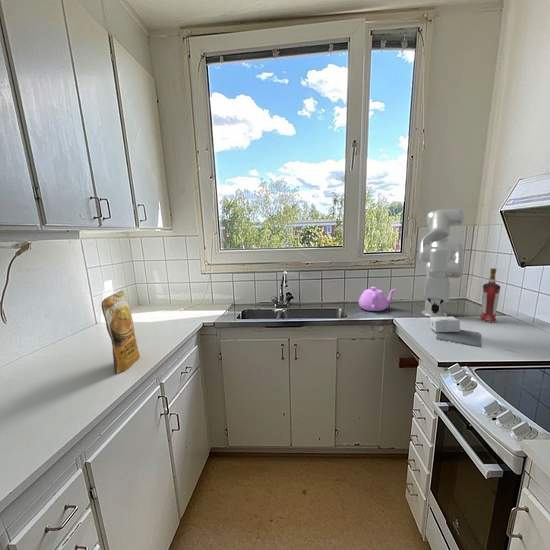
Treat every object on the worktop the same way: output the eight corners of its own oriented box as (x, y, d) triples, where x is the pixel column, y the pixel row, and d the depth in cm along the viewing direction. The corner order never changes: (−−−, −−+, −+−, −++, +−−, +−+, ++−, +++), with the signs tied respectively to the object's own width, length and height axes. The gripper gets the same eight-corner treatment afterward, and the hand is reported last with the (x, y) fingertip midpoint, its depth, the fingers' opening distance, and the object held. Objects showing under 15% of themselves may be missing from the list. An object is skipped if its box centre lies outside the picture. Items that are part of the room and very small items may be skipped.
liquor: (479, 317, 157) (484, 267, 152) (496, 319, 153) (501, 268, 148) (479, 321, 151) (484, 269, 146) (497, 323, 147) (503, 269, 142)
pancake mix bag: (102, 376, 102) (92, 300, 97) (129, 353, 120) (122, 288, 116) (121, 376, 102) (112, 299, 97) (145, 353, 120) (138, 288, 116)
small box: (435, 332, 135) (460, 332, 132) (435, 320, 134) (459, 320, 132) (429, 327, 142) (453, 327, 140) (429, 316, 142) (453, 316, 140)
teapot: (397, 315, 164) (398, 291, 162) (358, 312, 170) (359, 290, 168) (393, 305, 185) (394, 284, 183) (358, 303, 191) (359, 283, 189)
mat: (440, 327, 143) (440, 326, 143) (479, 333, 134) (479, 332, 134) (436, 339, 128) (436, 338, 128) (479, 347, 119) (479, 345, 119)
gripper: (457, 274, 132) (453, 313, 135) (421, 272, 140) (419, 308, 143) (456, 277, 126) (452, 317, 129) (418, 274, 134) (416, 312, 137)
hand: (434, 312), depth 136 cm, fingers closed
